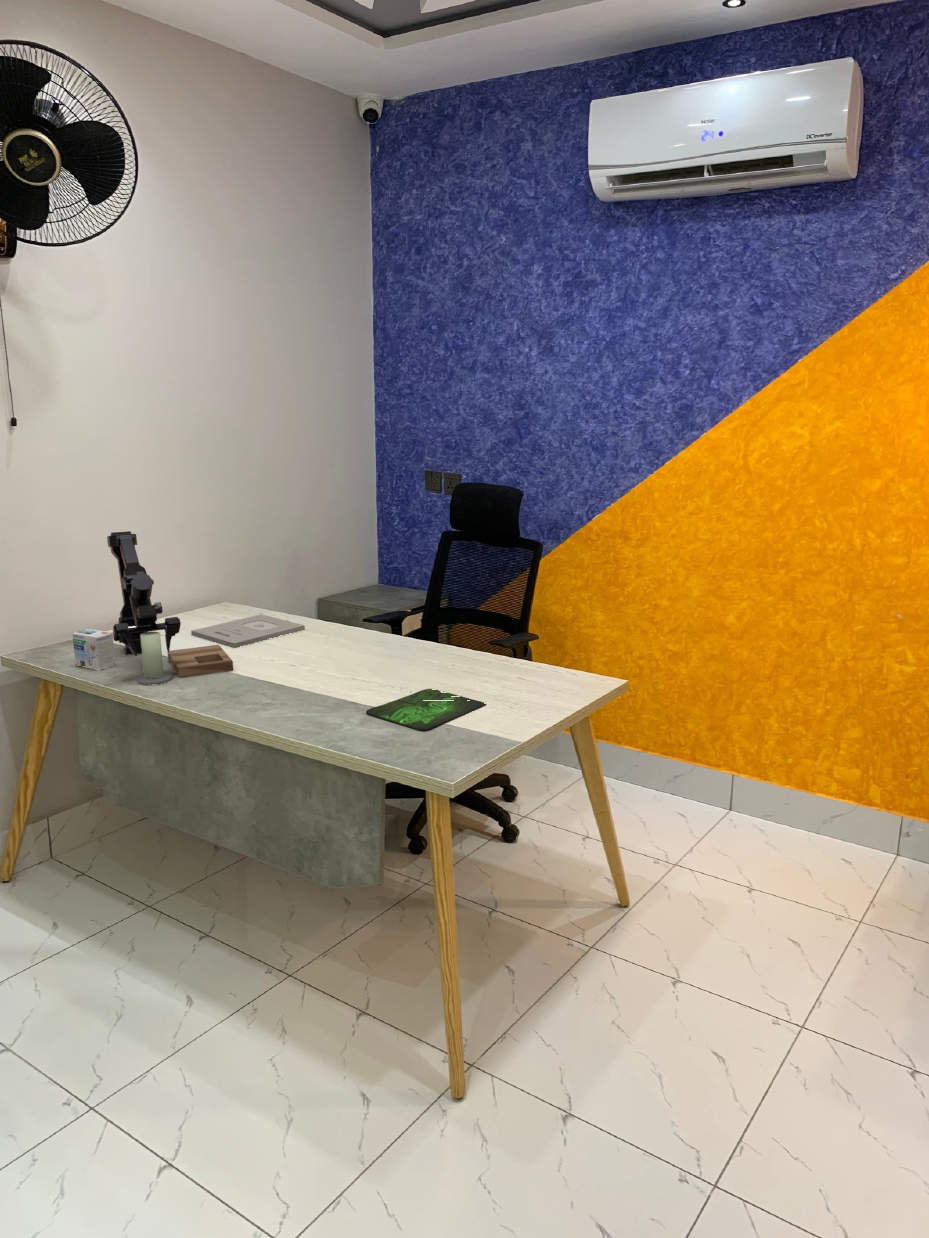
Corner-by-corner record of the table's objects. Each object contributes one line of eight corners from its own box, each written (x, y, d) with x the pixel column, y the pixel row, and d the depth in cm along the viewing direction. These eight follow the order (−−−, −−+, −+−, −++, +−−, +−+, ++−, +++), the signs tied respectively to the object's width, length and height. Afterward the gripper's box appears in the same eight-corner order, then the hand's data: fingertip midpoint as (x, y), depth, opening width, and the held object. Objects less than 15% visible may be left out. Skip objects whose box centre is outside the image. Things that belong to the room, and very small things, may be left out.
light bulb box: (75, 666, 283) (71, 632, 280) (92, 660, 289) (89, 627, 286) (99, 671, 278) (95, 637, 275) (116, 665, 284) (113, 632, 281)
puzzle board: (168, 660, 289) (167, 651, 288) (219, 653, 296) (218, 644, 295) (179, 677, 272) (178, 668, 271) (233, 670, 279) (232, 661, 278)
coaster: (134, 677, 272) (133, 674, 272) (168, 672, 277) (168, 669, 276) (138, 687, 264) (138, 684, 263) (174, 682, 268) (174, 679, 268)
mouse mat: (429, 688, 263) (429, 685, 263) (490, 704, 250) (490, 701, 250) (362, 715, 243) (362, 711, 242) (424, 734, 229) (424, 730, 229)
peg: (148, 673, 273) (144, 631, 269) (166, 673, 272) (163, 631, 269) (141, 679, 267) (137, 636, 264) (159, 679, 267) (155, 636, 264)
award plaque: (191, 636, 317) (191, 630, 317) (261, 619, 340) (261, 614, 339) (234, 649, 302) (234, 643, 301) (304, 631, 324) (304, 625, 324)
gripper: (110, 597, 263) (120, 643, 256) (176, 590, 271) (187, 635, 265) (108, 617, 271) (118, 663, 265) (173, 610, 280) (184, 654, 273)
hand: (152, 653), depth 267 cm, fingers open, 9 cm apart
